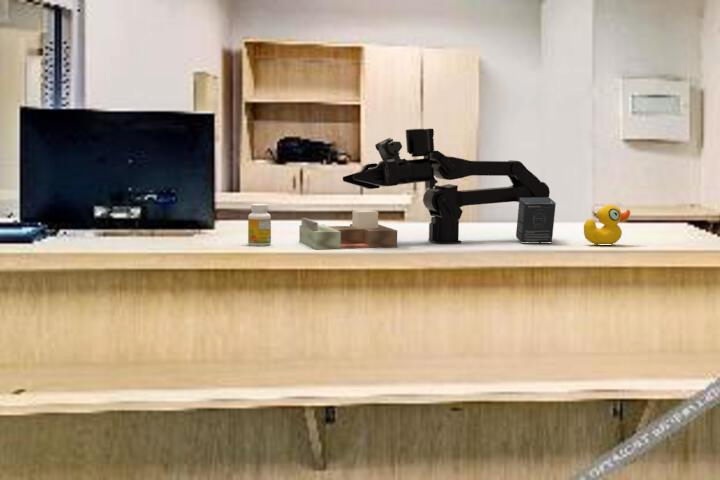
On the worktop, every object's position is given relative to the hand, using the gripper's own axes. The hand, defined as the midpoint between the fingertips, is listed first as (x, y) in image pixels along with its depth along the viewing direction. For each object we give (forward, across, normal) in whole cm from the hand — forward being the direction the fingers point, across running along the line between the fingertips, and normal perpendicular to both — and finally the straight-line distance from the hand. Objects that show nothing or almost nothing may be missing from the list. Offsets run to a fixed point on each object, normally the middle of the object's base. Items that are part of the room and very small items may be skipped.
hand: (348, 178), depth 224 cm
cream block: (-4, -2, +12) cm, 13 cm away
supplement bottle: (+22, -5, +14) cm, 27 cm away
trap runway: (+1, -3, +16) cm, 16 cm away
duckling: (-60, +11, +24) cm, 66 cm away
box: (-46, +3, +21) cm, 50 cm away
